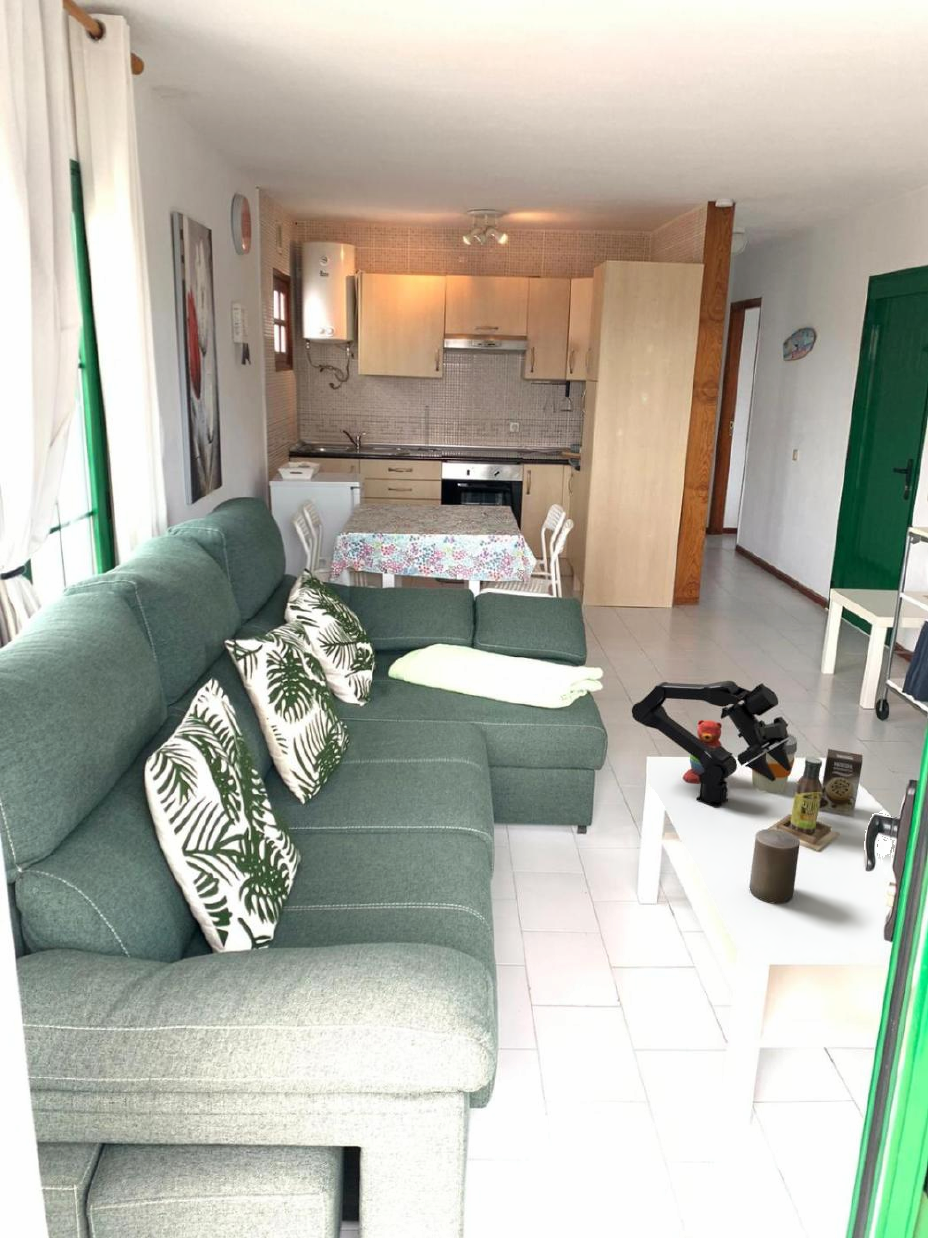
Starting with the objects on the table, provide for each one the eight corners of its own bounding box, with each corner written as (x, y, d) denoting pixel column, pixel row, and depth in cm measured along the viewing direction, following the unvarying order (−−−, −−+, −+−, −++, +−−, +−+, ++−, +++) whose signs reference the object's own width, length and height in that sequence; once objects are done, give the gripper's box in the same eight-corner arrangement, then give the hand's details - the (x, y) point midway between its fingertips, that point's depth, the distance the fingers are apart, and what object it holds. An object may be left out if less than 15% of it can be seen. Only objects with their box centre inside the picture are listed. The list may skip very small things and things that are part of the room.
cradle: (765, 831, 249) (766, 824, 248) (789, 816, 258) (790, 809, 257) (817, 851, 239) (818, 844, 239) (840, 834, 248) (841, 827, 248)
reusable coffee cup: (797, 796, 270) (804, 746, 266) (752, 794, 270) (758, 745, 266) (783, 777, 282) (789, 729, 278) (740, 776, 282) (746, 728, 278)
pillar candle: (795, 906, 215) (804, 845, 211) (750, 900, 216) (758, 840, 213) (789, 884, 224) (797, 825, 220) (746, 879, 226) (753, 820, 222)
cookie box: (818, 811, 261) (826, 756, 257) (819, 801, 267) (826, 747, 263) (854, 818, 258) (862, 762, 254) (854, 808, 264) (862, 753, 260)
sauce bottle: (797, 837, 245) (807, 765, 240) (784, 826, 251) (794, 755, 246) (820, 835, 246) (830, 763, 241) (806, 824, 252) (816, 754, 247)
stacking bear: (681, 781, 277) (686, 723, 272) (690, 768, 286) (696, 712, 281) (718, 790, 272) (725, 731, 268) (726, 777, 281) (733, 720, 276)
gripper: (753, 718, 242) (790, 772, 238) (785, 701, 256) (820, 751, 252) (722, 738, 250) (756, 791, 245) (754, 720, 263) (788, 770, 259)
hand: (782, 775), depth 250 cm, fingers open, 9 cm apart
